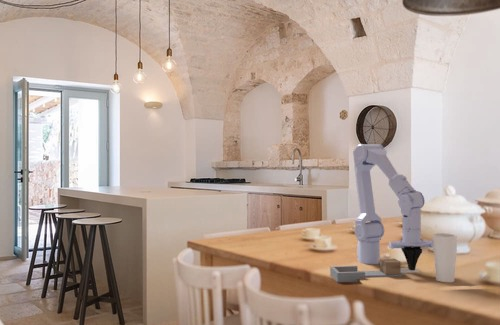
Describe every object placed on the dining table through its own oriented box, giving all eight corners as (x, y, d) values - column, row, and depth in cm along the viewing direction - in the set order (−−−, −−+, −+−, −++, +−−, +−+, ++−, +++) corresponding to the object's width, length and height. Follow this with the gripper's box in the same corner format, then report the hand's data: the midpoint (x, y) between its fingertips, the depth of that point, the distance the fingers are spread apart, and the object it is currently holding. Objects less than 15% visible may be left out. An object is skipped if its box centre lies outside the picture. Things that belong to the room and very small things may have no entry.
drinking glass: (450, 280, 151) (450, 233, 151) (461, 285, 144) (460, 236, 144) (429, 280, 151) (429, 233, 151) (439, 286, 144) (438, 237, 144)
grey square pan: (330, 275, 158) (330, 266, 158) (394, 273, 160) (394, 264, 160) (337, 282, 149) (337, 273, 149) (405, 280, 151) (404, 270, 151)
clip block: (379, 270, 158) (379, 258, 158) (394, 270, 158) (394, 258, 158) (385, 274, 153) (385, 262, 153) (400, 274, 153) (400, 261, 153)
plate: (393, 270, 164) (393, 267, 164) (412, 270, 164) (412, 267, 164) (401, 275, 157) (401, 272, 157) (421, 275, 157) (421, 272, 157)
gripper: (394, 230, 151) (395, 273, 151) (438, 229, 152) (438, 272, 153) (386, 227, 158) (386, 268, 158) (428, 226, 159) (428, 266, 160)
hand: (411, 269), depth 156 cm, fingers closed
